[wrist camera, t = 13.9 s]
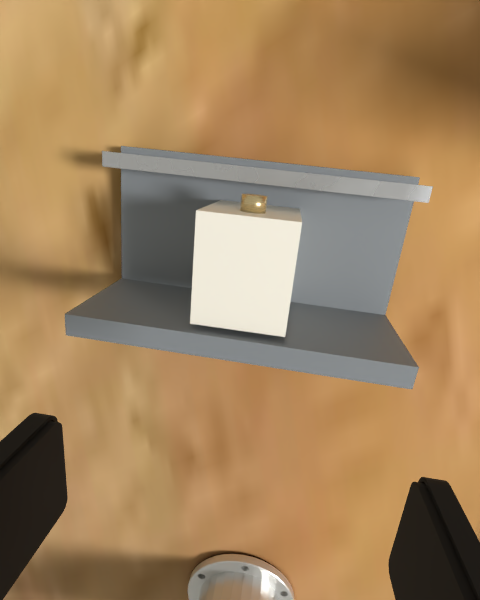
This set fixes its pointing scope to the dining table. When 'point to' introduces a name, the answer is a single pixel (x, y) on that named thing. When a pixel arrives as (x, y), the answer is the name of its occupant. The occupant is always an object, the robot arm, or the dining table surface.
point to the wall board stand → (308, 273)
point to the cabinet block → (244, 265)
